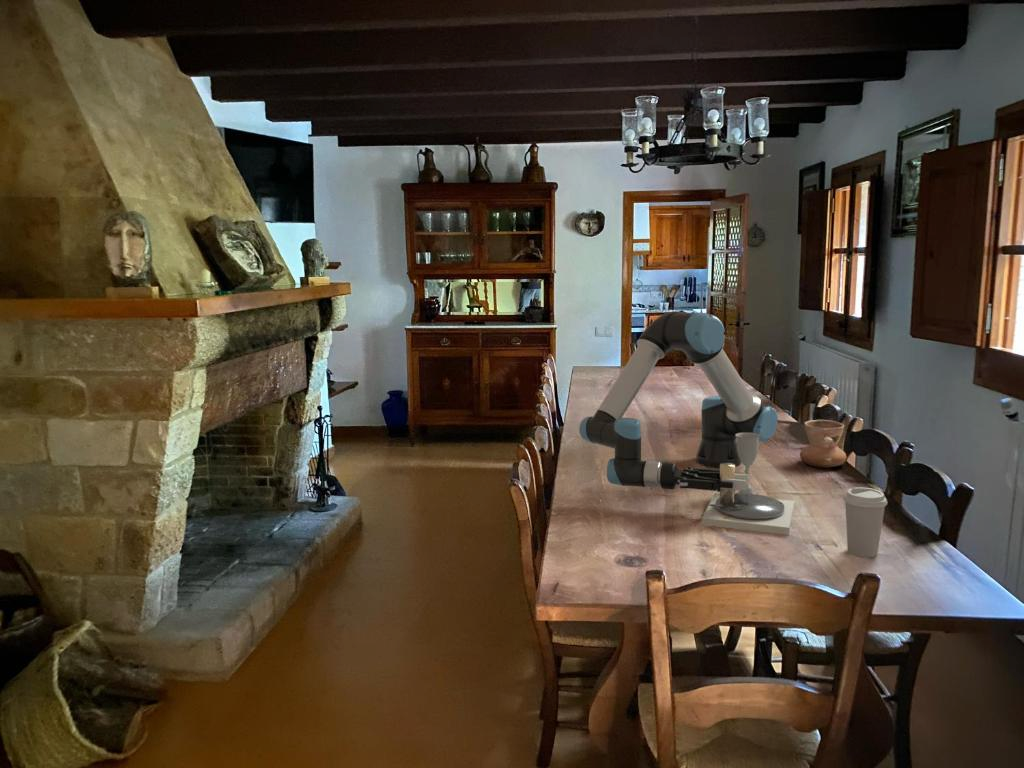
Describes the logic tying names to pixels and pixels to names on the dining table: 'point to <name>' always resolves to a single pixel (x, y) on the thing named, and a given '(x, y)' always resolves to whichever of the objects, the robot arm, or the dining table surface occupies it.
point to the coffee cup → (864, 520)
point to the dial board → (767, 525)
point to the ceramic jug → (823, 444)
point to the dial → (745, 501)
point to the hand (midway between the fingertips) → (746, 482)
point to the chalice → (747, 454)
